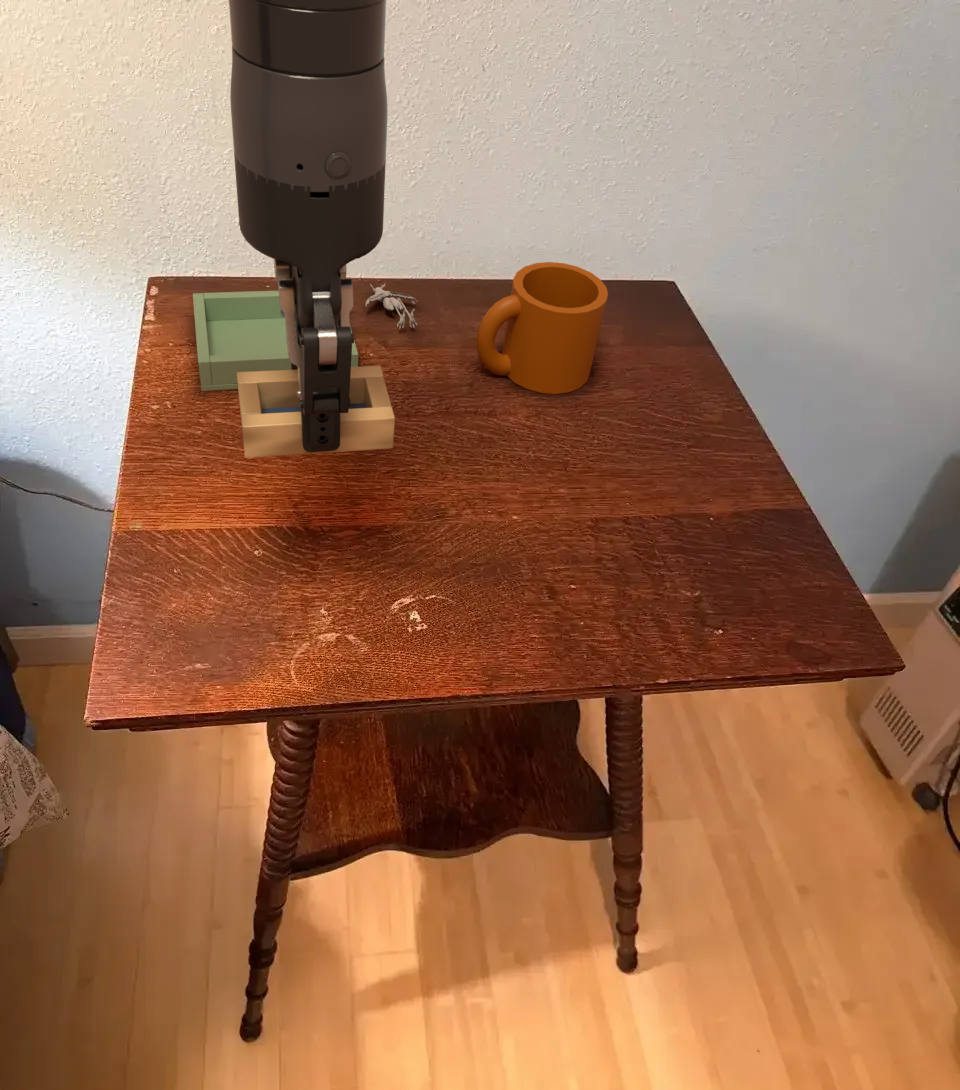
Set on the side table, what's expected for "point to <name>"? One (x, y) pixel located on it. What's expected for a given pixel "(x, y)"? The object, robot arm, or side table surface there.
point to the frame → (278, 413)
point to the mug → (545, 328)
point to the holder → (240, 336)
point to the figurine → (393, 303)
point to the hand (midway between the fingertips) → (315, 416)
